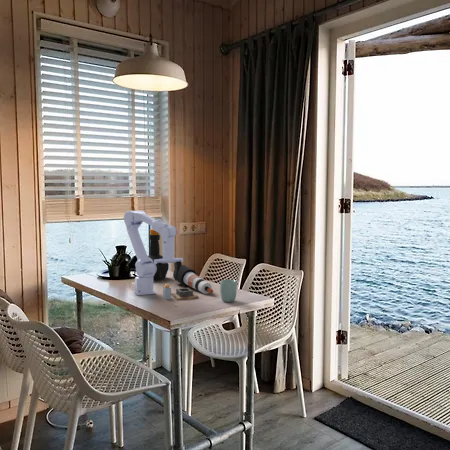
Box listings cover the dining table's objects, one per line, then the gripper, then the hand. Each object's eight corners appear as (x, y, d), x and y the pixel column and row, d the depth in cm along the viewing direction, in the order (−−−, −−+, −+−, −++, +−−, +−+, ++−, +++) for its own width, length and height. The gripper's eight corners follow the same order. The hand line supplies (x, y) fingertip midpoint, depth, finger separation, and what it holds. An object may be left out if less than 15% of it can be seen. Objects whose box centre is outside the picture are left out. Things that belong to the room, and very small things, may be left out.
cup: (229, 298, 221) (229, 278, 220) (239, 301, 215) (239, 281, 214) (217, 301, 215) (217, 280, 215) (227, 304, 210) (227, 283, 209)
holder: (176, 300, 216) (176, 293, 216) (171, 295, 226) (171, 288, 226) (198, 298, 220) (198, 291, 220) (191, 293, 231) (191, 286, 230)
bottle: (135, 278, 266) (135, 229, 264) (158, 275, 278) (158, 227, 275) (150, 282, 255) (150, 231, 252) (173, 279, 266) (173, 229, 263)
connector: (165, 299, 218) (165, 285, 217) (163, 297, 221) (163, 283, 221) (171, 298, 219) (171, 285, 218) (169, 297, 222) (169, 283, 222)
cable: (207, 304, 226) (200, 289, 222) (177, 285, 254) (170, 270, 249) (222, 293, 230) (216, 278, 226) (191, 275, 258) (184, 261, 254)
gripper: (156, 252, 212) (156, 279, 213) (185, 250, 218) (185, 277, 220) (152, 250, 219) (152, 277, 220) (180, 248, 225) (180, 275, 226)
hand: (168, 277), depth 220 cm, fingers open, 7 cm apart
